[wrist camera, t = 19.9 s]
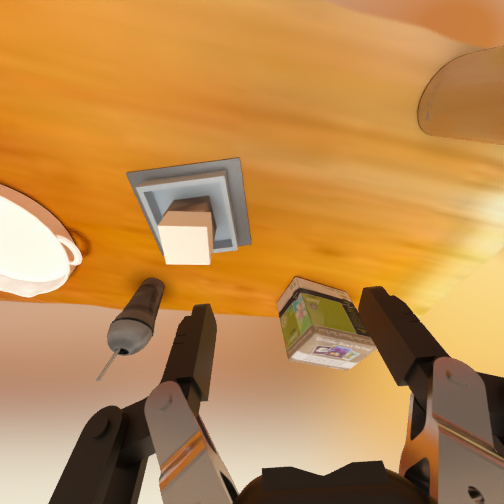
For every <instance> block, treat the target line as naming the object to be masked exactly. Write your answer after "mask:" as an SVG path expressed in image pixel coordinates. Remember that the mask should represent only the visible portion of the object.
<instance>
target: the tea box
mask: <svg viewBox="0 0 504 504" xmlns="http://www.w3.org/2000/svg"><path fill="white" fill-rule="evenodd" d="M277 306H278V312H279V317H280V322H281V327H282V332H283V336H284V341H285V347H286V352H287V356H288V360H289V361H293V362H299V363H305V364H312V365H317V366H323V367H329V368H335V369H343V370H349V369H350V368H351V367H353V366H354V365H356V364H357V363H358V362H359V361H361V360H362V359H364V358H365V357H366V356H368V355H369V354H371V353H372V352H373V351H375V350H376V349H377V347H376V345H375V344H374V342H373V340H372V338H371V336H370V335H369V333H368V331H367V329H366V327H365V326H364V324H363V322H362V320H361V318H360V315H359V313H358V311H357V310H356V308H355V306H354V305H353V303H352V301H351V299H350V297H349V296H348V294H347V293H346V292H344V291H340V290H337V289H334V288H331V287H327V286H324V285H321V284H318V283H315V282H311V281H308V280H305V279H302V278H298V277H295V278H294V280H293V281H292V282H291V284H290V285H289V286H288V288H287V289H286V291H285V292H284V293H283V295H282V296H281V298H280V299H279V300H278V302H277Z"/></svg>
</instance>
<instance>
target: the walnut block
mask: <svg viewBox="0 0 504 504" xmlns="http://www.w3.org/2000/svg"><path fill="white" fill-rule="evenodd" d="M168 211H185V212H211V220H212V236H213V245H214V240H215V234H216V229H217V226H216V222H215V218H214V214H213V209H212V205H211V201H210V197H209V196H202V197H194V198H186V199H179V200H173V202H172V203H171V204H170V206H169V207H168V209H167V210H166V211H165V213H164V214H163V217H164V216H165V215H166V213H167V212H168Z"/></svg>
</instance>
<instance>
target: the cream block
mask: <svg viewBox="0 0 504 504" xmlns="http://www.w3.org/2000/svg"><path fill="white" fill-rule="evenodd" d="M158 230H159V234H160V238H161V243H162V247H163V252H164V256H165V260H166V264H191V265H210V262H211V256H212V251H213V236H212V220H211V212H185V211H168V212H167V213H166V215H165V216H164V217H163V219H162V220H161V222H160V223H159V224H158Z"/></svg>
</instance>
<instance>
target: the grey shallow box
mask: <svg viewBox="0 0 504 504" xmlns="http://www.w3.org/2000/svg"><path fill="white" fill-rule="evenodd" d="M126 175H127V177H128V179H129V181H130V184H131V186H132V188H133V190H134V193H135V195H136V197H137V199H138V202H139V204H140V206H141V208H142V211H143V213H144V215H145V217H146V220H147V222H148V224H149V226H150V228H151V231H152V233H153V235H154V237H155V240H156V242H157V244H158V246H159V249H160V251H161V253H162V255H164V252H163V247H162V243H161V238H160V234H159V230H158V224H159V223H160V222H161V220H162V219H163V214H164V213H165V211H166V210H167V209H168V207H169V206H170V204H171V203H172V202H173V200H179V199H186V198H194V197H202V196H209V197H210V201H211V205H212V209H213V214H214V218H215V222H216V226H217V229H216V234H215V240H214V245H213V251H212V253H218V252H226V251H234V250H238V246H242V245H251V238H250V231H249V223H248V216H247V209H246V201H245V194H244V187H243V179H242V172H241V165H240V158H233V159H225V160H218V161H210V162H203V163H195V164H188V165H180V166H172V167H165V168H157V169H150V170H142V171H135V172H127V173H126Z"/></svg>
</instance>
